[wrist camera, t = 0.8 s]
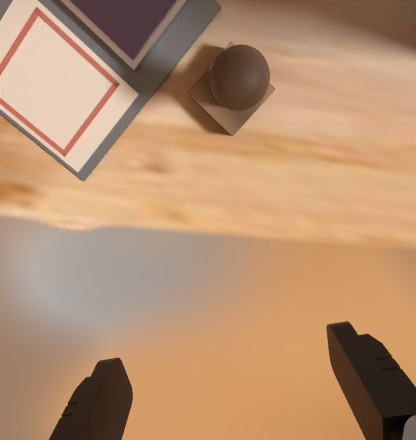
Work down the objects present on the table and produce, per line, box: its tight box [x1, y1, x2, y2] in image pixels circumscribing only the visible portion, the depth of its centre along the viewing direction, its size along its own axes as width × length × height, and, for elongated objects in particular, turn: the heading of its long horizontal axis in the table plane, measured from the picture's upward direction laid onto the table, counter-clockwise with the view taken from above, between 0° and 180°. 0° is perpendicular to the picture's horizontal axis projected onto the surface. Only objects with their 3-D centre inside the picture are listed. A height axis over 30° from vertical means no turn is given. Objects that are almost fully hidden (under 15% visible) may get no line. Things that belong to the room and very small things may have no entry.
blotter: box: [0, 0, 221, 181], centre depth 29 cm, size 23×16×1 cm
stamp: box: [188, 42, 275, 136], centre depth 25 cm, size 6×6×12 cm
